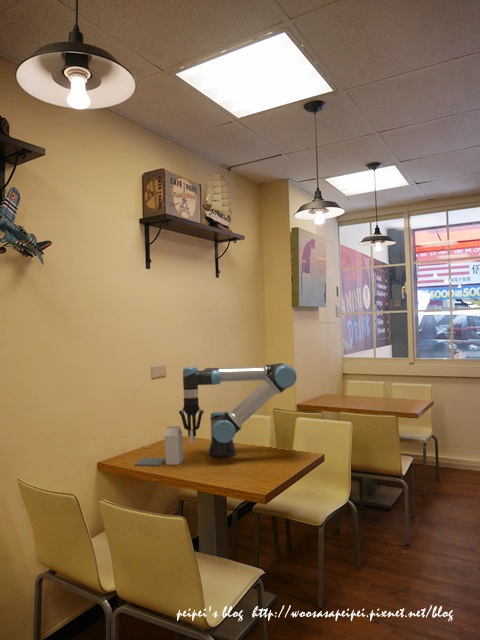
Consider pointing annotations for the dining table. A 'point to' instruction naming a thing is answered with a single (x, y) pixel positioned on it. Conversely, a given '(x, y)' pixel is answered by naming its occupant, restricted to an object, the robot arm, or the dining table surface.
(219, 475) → the dining table surface
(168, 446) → the milk carton
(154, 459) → the mat
